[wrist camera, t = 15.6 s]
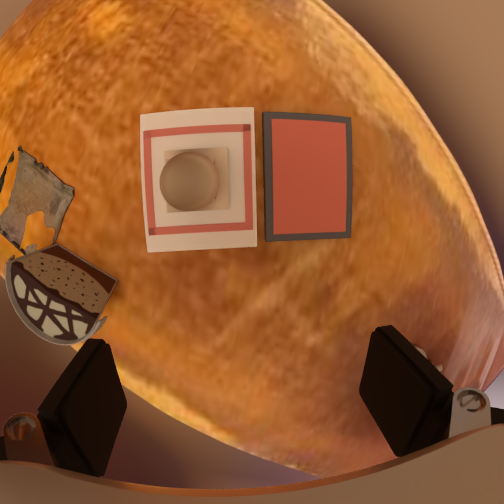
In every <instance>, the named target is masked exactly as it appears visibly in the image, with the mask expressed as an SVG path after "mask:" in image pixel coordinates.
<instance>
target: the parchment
mask: <svg viewBox="0 0 504 504" xmlns="http://www.w3.org/2000/svg"><path fill="white" fill-rule="evenodd" d="M18 151H20V152H19V162H18V167H17V173H16V179H15V182H14V186H13V189H12V192H11V197H10V199H9V206H8V207H7V208H6V209H5V210H4V211H3V213H2V214H1V216H0V233H1V234H2V235H3V236H4V237H5V238H7V240H8V241H9V242H10V243H12V244H13V245H14V246H15V247H16V248H17V249H18V250H19V249H20V246H21V242H22V239H23V235H24V232H25V224H26V220H27V216H28V215H30V214H33V213H35V212H37V211H43V212H44V214H45V216H44V220H45V225H46V227H47V228H48V227H50V228H51V227H52V228H53V229H55V236H54V238H53V244H52V245H54V244H55V242H56V239H57V236H58V233H59V230H60V226H61V222H62V219H63V216H64V214H65V211H66V209H67V207H68V205H69V204H70V202H71V200H72V198H73V197H74V194H73V190H74V189H75V188H73V187H70V186H68V185H65V184H63V183H62V182H61V181H60V180H59V179H58V178H57V177H56V176H54V174H52V173H51V171H50V170H49V169H48V167H44V168H43V166H44V164H43V163H36V160H35V158H33V157H31V156H30V155H28V154H27V153H26V152H25V151H22V147H21V145H20V148H19V147H18ZM13 160H14V152H13V153H12V155H11V156H10V158H9V160H8V163H7V165H8V164H9V162H12V161H13ZM35 163H36V164H35ZM7 165H6V167H5V169H4V171H3V173H2V175H1V178H0V192H1V190H2V188H3V184H4V176H5V174H6V169H7ZM36 248H37V245H36V244H31V245H29V246H27V247H26V249H25V250H23V249H20V250H19V251H21V252H22V253H23V254H24V255H26V254H29V253H32V252H34V251H36Z"/></svg>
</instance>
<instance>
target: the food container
mask: <svg viewBox="0 0 504 504" xmlns="http://www.w3.org/2000/svg"><path fill="white" fill-rule="evenodd" d="M14 257H15V255H13V256H11V257H10V258H9V259H8V262H7V263H6V267H5V281H6V287H7V291H8V295H9V297H10V300H11V303H12V305H13V307H14V309H15V311H16V313H17V314H18V316H19V317H20V319H21V320H22V321H23V322H24V324H25V325H26V326H27V327H28V328H29V329H30V330H31V331H33V332H34V333H35V334H36V335H37V336H39V337H41V338H42V339H44V340H46V341H49V342H51V343H54V344H58V345H73V344H76V343H80V342H82V341H84V340H86V339H88V338H89V337H91V336H92V335H93V334H95V333H96V332H97V331H98V330H99V329H100V328H101V327H102V325H103V324H104V323H105V321H106V319H107V317H108V316H105V317H104V318H102V319H101V320H99V318H100V316H101V314H102V312H103V310H104V308H105V306H106V304H107V302H108V300H109V298H110V296H111V294H112V292H113V290H114V288H115V286H116V284H117V282H118V279H116V278H114V277H113V276H111V275H109V274H108V273H106V272H104V271H102V270H101V269H99V268H97V267H96V266H94V265H92V264H91V263H89V262H87V261H86V260H84V259H83V258H81V257H79V256H78V255H76V254H75V253H73V252H71V251H70V250H68V249H67V248H65V247H64V246H62V245H60V244H59V243H57V244H54V245H51V246H48V247H45V248H43V249H40V250H37V251H34V252H32V253H29V254H26V255H24V256H21V257H18V258H16V259H14Z"/></svg>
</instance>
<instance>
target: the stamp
mask: <svg viewBox="0 0 504 504" xmlns="http://www.w3.org/2000/svg"><path fill="white" fill-rule="evenodd" d="M164 161H165V166H164V167H163V169H162V172H161V175H160V190H161V193H162V195H163V197H164V199H165V200H166V203H167V213H173V212H189V211H206V210H227V209H229V197H228V164H227V147H218V148H198V149H184V150H171V151H164Z"/></svg>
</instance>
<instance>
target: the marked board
mask: <svg viewBox="0 0 504 504" xmlns="http://www.w3.org/2000/svg"><path fill="white" fill-rule="evenodd" d="M218 147H227V164H228V197H229V209H227V210H206V211H189V212H173V213H167V203H166V200H165V199H164V197H163V195H162V193H161V190H160V175H161V172H162V169H163V167H164V166H165V161H164V151H171V150H184V149H198V148H218ZM140 152H141V179H142V196H143V210H144V222H145V233H146V243H147V251H148V252H165V251H184V250H202V249H221V248H240V247H257V215H256V171H255V131H254V107H233V108H206V109H191V110H178V111H168V112H158V113H150V114H142V115H140Z"/></svg>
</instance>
